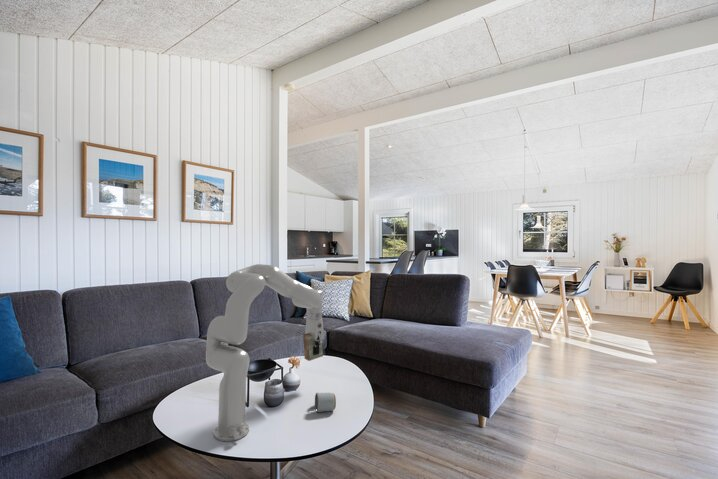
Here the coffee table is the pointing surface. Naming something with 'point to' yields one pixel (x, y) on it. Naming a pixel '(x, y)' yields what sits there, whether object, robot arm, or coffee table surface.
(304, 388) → the coffee table surface
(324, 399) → the ceramic mug
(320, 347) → the slab
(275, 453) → the coffee table surface
